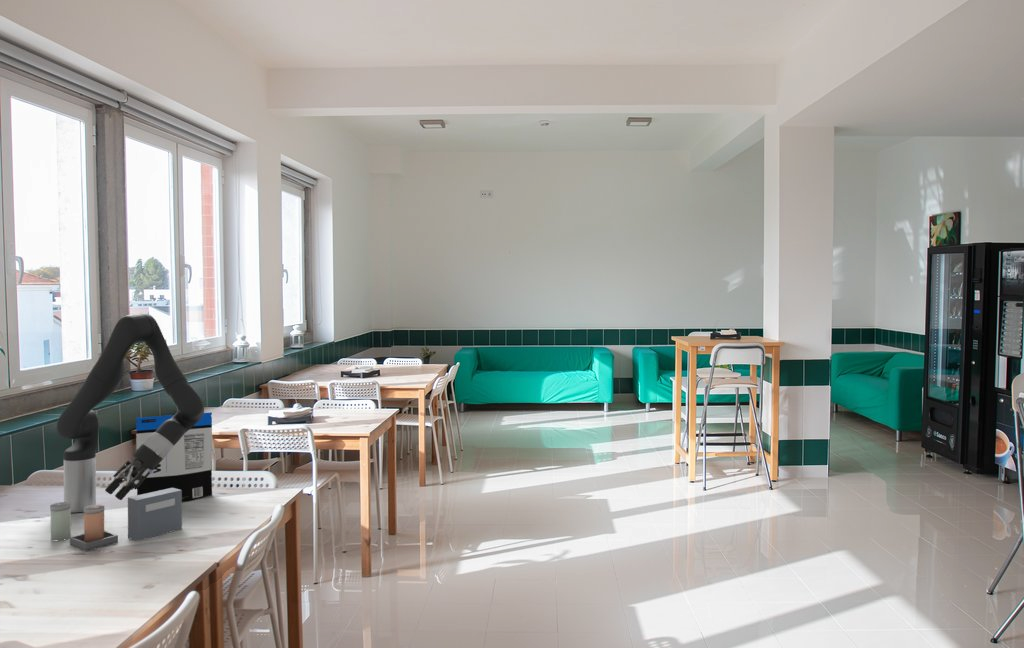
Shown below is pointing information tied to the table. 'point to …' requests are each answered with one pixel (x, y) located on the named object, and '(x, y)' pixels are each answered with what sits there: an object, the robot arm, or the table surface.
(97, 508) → the cylinder
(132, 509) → the dark grey unit
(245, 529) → the table surface
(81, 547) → the charcoal tray
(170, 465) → the protein powder
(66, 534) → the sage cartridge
